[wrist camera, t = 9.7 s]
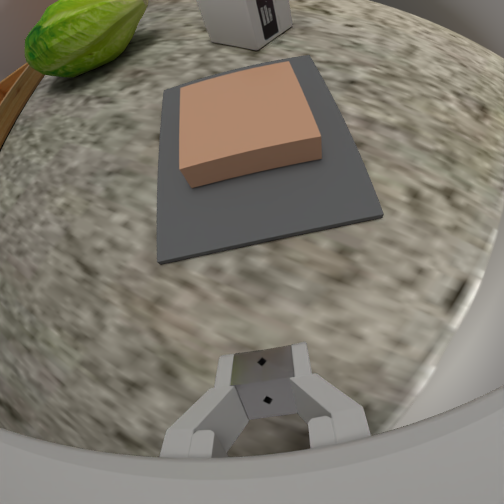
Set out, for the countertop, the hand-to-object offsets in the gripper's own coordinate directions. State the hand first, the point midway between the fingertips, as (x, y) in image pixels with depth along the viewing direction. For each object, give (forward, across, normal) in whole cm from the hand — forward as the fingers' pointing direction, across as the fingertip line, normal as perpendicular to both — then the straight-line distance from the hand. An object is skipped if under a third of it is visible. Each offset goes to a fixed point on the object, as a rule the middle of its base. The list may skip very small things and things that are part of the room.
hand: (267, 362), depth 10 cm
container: (+32, -3, -20) cm, 38 cm away
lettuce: (+39, +21, -26) cm, 51 cm away
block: (+14, 0, -5) cm, 15 cm away
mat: (+19, 0, -7) cm, 20 cm away
